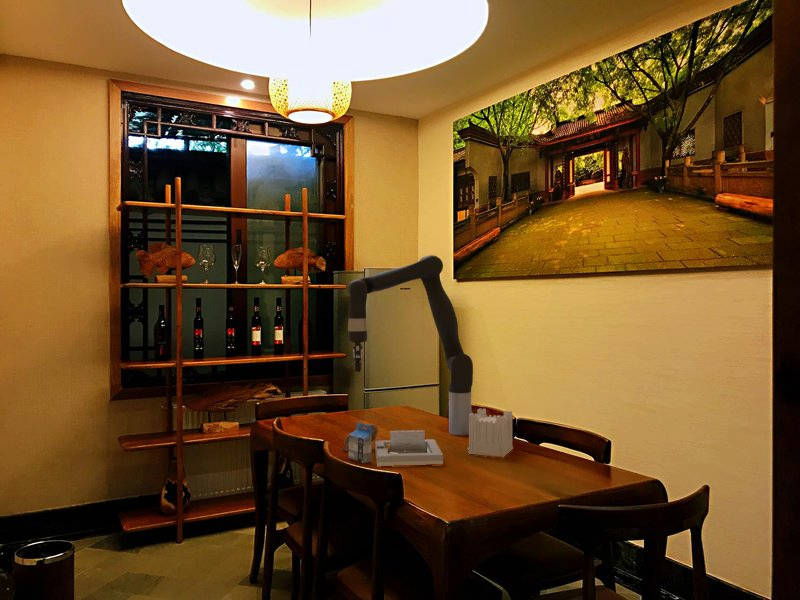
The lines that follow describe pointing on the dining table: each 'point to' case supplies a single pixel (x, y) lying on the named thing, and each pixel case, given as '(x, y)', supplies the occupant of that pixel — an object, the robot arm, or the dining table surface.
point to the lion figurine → (373, 429)
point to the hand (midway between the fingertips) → (358, 370)
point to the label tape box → (360, 444)
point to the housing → (408, 455)
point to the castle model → (490, 434)
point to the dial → (407, 442)
